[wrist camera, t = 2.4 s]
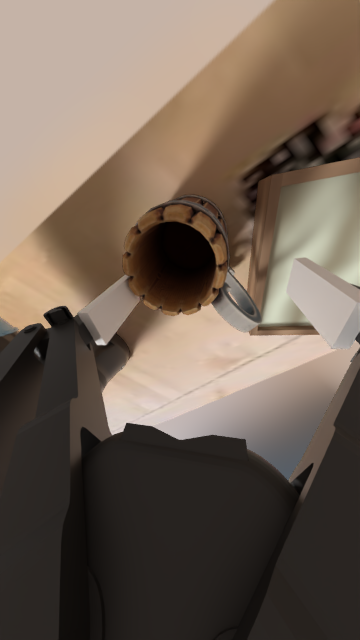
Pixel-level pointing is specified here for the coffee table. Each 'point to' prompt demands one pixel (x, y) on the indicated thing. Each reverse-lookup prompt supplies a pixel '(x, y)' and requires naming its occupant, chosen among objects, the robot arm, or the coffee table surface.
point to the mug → (186, 262)
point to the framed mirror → (302, 238)
